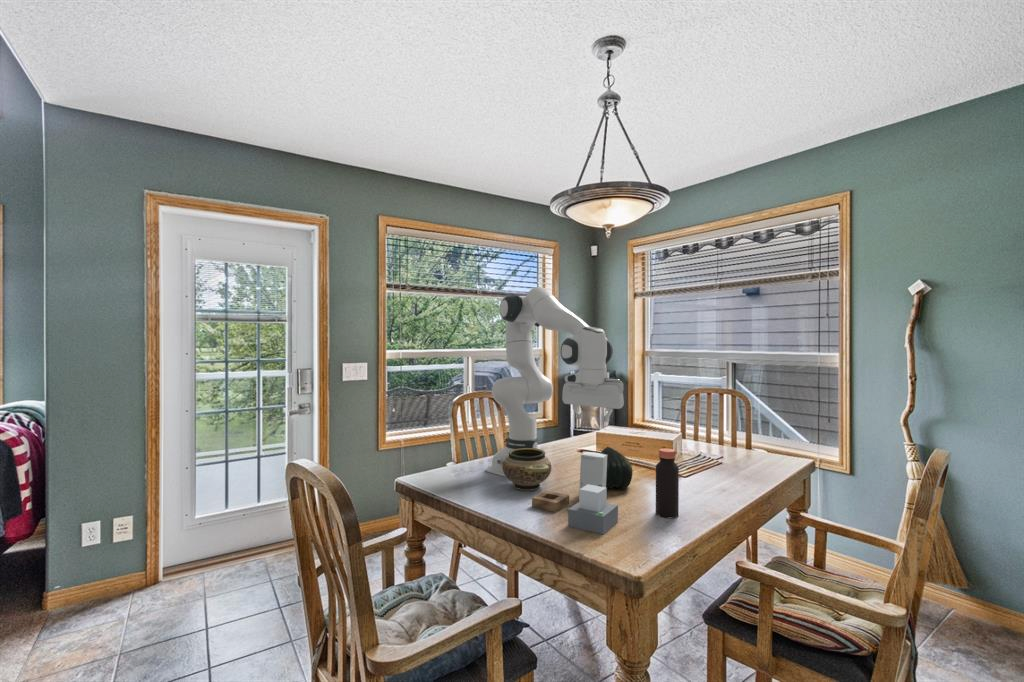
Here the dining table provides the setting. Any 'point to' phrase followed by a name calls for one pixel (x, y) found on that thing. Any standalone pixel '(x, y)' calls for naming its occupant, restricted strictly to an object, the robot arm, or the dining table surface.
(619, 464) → the squash
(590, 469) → the skincare box
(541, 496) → the cradle
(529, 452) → the ceramic bowl
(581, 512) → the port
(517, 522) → the dining table surface
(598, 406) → the robot arm
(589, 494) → the plug
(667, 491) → the bottle
